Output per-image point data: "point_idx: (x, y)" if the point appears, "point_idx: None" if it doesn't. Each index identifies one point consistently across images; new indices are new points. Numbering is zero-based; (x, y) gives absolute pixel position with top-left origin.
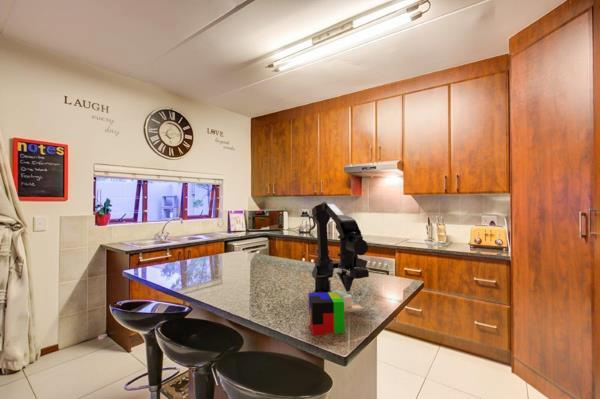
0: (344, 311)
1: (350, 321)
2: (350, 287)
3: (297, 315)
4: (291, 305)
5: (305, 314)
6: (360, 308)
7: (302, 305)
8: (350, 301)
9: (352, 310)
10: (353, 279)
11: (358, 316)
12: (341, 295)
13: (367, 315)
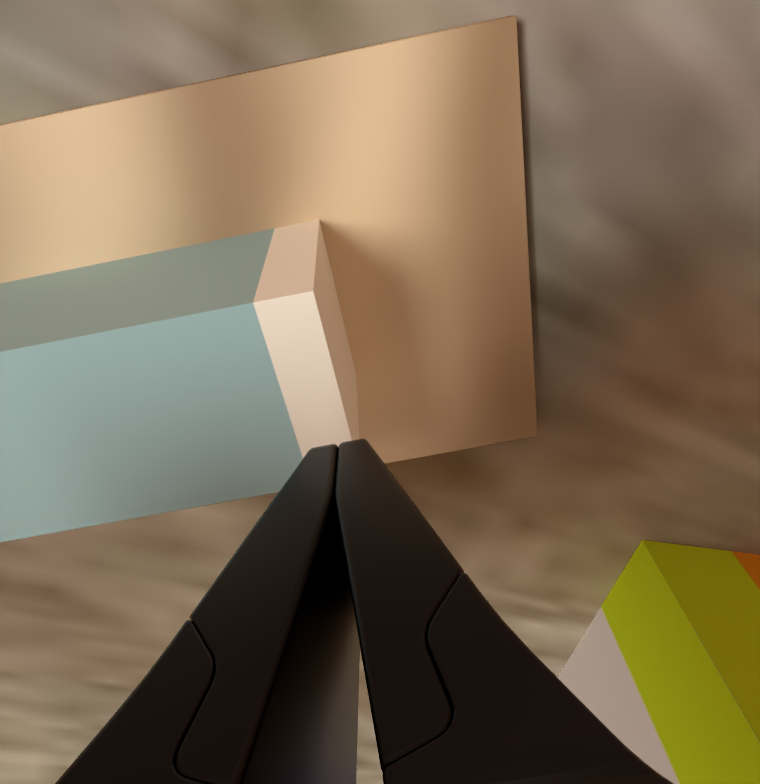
0: (479, 413)
1: (737, 440)
2: (410, 503)
3: (366, 749)
4: None
5: (367, 708)
6: (472, 122)
7: (117, 694)
8: (324, 284)
9: (495, 298)
10: (601, 731)
11: (681, 292)
12: (224, 468)
13: (734, 141)
